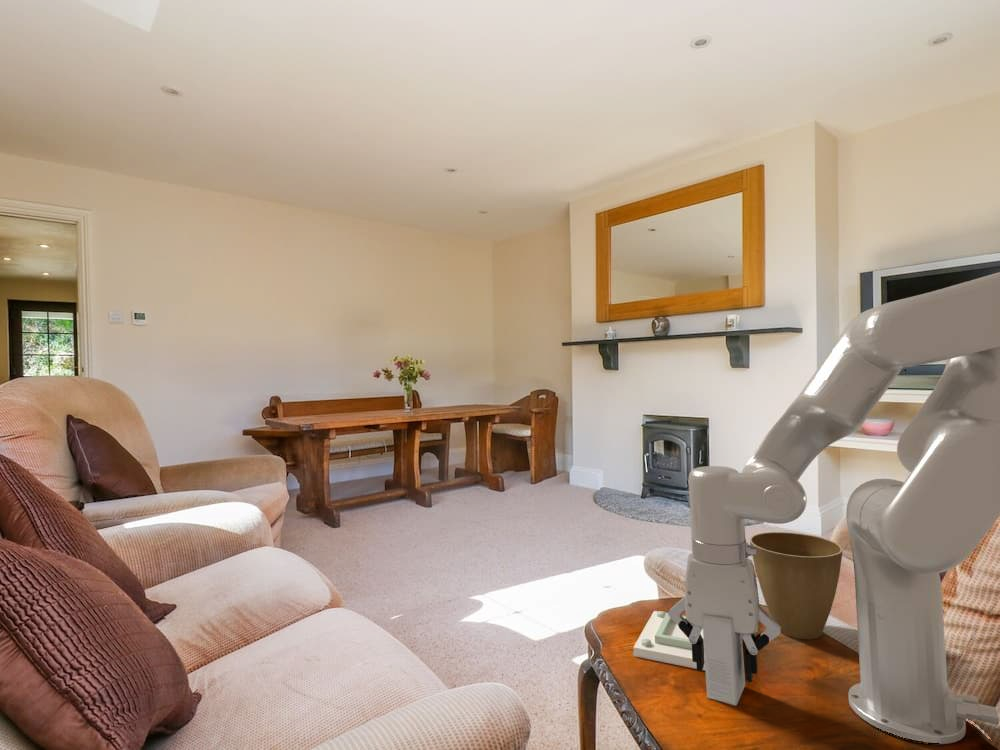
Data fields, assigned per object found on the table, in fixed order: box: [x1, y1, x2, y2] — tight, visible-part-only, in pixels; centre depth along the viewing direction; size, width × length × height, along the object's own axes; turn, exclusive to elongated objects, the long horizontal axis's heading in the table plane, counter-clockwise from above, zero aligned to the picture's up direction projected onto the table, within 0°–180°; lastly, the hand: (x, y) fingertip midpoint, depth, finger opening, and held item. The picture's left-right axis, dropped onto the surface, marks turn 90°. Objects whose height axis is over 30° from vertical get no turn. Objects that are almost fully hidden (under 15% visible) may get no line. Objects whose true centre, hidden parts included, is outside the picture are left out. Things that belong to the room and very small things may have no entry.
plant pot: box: [749, 531, 843, 640], centre depth 97 cm, size 15×15×16 cm
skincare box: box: [702, 615, 746, 706], centre depth 79 cm, size 6×4×12 cm
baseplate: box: [632, 610, 743, 672], centre depth 94 cm, size 16×16×3 cm
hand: (724, 671), depth 79 cm, fingers open, 6 cm apart
